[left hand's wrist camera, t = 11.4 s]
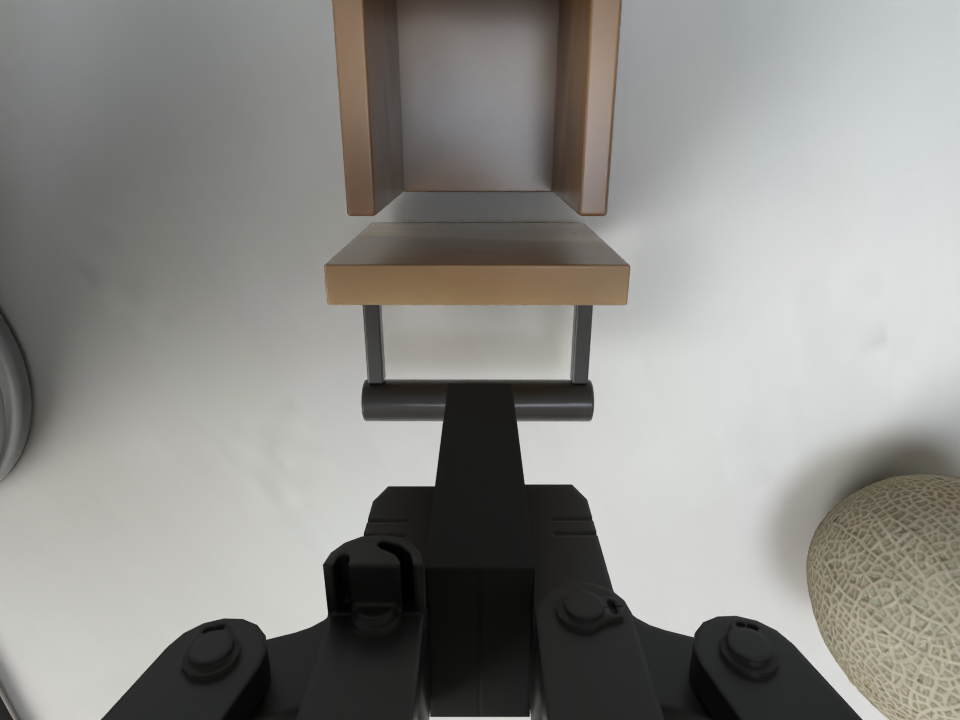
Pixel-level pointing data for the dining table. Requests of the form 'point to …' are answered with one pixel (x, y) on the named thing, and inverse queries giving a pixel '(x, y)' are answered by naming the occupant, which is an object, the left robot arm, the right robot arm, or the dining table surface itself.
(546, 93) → the drawer
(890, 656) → the fruit
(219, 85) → the dining table surface
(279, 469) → the dining table surface
